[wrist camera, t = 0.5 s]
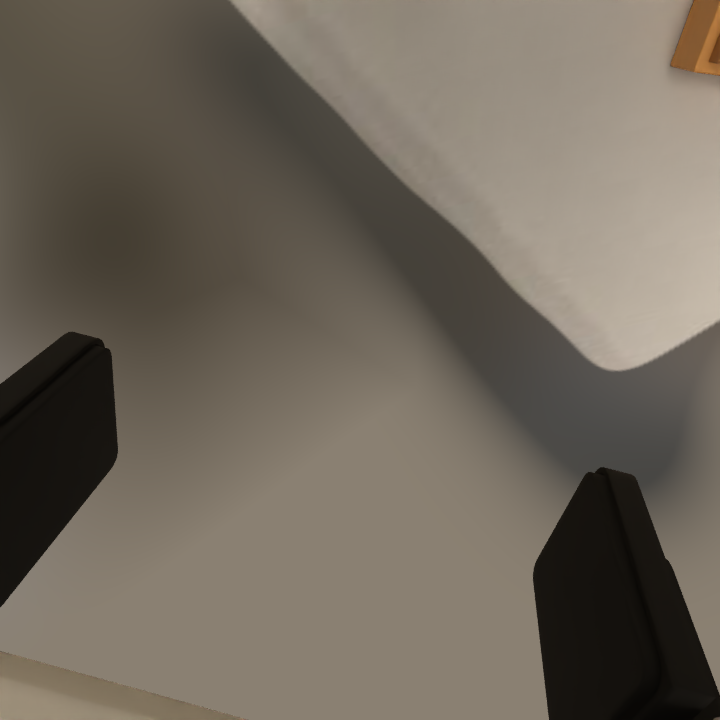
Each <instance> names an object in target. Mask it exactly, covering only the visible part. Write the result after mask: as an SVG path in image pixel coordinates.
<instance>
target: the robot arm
mask: <svg viewBox="0 0 720 720" xmlns="http://www.w3.org/2000/svg"><path fill="white" fill-rule="evenodd" d="M116 430H117V429H116V416H115V399H114V386H113V370H112V356H111V352H110V350H109V349H107V348H105V347H104V343H103V341H102V340H100V339H99V338H94V337H91V336H87V335H83V334H79V333H75V332H68V333H66V334H64V335H63V336H62V337H60V338H59V339H58V340H57V341H55V342H54V343H53V344H52V345H50V346H49V347H48V348H46V349H45V350H44V351H43V352H41V353H40V354H39V355H37V356H36V357H35V358H33V359H32V360H31V361H30V362H28V363H27V364H26V365H24V366H23V367H22V368H21V369H19V370H18V371H17V372H15V373H14V374H13V375H12V376H10V377H9V378H8V379H6V380H5V381H4V382H2V383H1V384H0V607H1V606H2V605H3V604H4V603H5V601H6V600H7V599H8V598H9V596H10V594H12V592H13V591H14V590H15V589H16V587H17V586H18V585H19V584H20V582H21V581H22V580H23V579H24V577H25V576H26V575H27V573H28V572H29V571H30V570H31V568H32V567H33V566H34V565H35V563H36V562H37V561H38V560H39V559H40V557H41V556H42V555H43V554H44V552H45V551H46V550H47V549H48V547H49V546H50V545H51V544H52V542H53V541H54V540H55V539H56V537H57V536H58V535H59V534H60V532H61V531H62V530H63V529H64V527H65V526H66V525H67V523H68V522H69V521H70V520H71V519H72V517H73V516H74V515H75V513H76V512H77V511H78V510H79V509H80V507H81V506H82V505H83V503H84V502H85V501H86V500H87V499H88V497H89V496H90V495H91V493H92V492H93V491H94V490H95V488H96V487H97V486H98V485H99V483H100V482H101V481H102V479H103V478H104V477H105V476H106V475H107V473H108V472H109V471H110V470H111V468H112V467H113V465H114V463H115V461H116V458H117V453H118V444H117V431H116ZM533 583H534V592H535V601H536V610H537V618H538V626H539V635H540V644H541V653H542V662H543V671H544V680H545V688H546V697H547V706H548V715H549V720H720V695H719V692H718V690H717V686H716V684H715V681H714V678H713V676H712V673H711V670H710V668H709V665H708V662H707V660H706V657H705V654H704V651H703V649H702V646H701V643H700V641H699V638H698V635H697V632H696V630H695V627H694V624H693V622H692V619H691V616H690V614H689V611H688V608H687V606H686V603H685V601H684V598H683V595H682V592H681V590H680V587H679V584H678V581H677V579H676V576H675V573H674V571H673V569H672V566H671V565H670V563H669V561H668V560H667V559H666V558H665V556H664V553H663V551H662V548H661V545H660V542H659V540H658V537H657V534H656V531H655V529H654V526H653V523H652V520H651V518H650V515H649V512H648V509H647V507H646V504H645V501H644V498H643V496H642V493H641V490H640V488H639V485H638V482H637V480H636V478H635V477H634V476H633V475H631V474H627V473H623V472H620V471H616V470H612V469H608V468H604V467H601V468H599V469H598V470H597V471H596V472H595V473H592V472H588V473H587V474H586V475H585V476H584V478H583V479H582V481H581V483H580V485H579V486H578V488H577V490H576V492H575V493H574V495H573V497H572V499H571V500H570V502H569V504H568V506H567V507H566V509H565V511H564V513H563V515H562V516H561V518H560V520H559V522H558V523H557V525H556V527H555V529H554V530H553V532H552V534H551V536H550V538H549V539H548V541H547V543H546V545H545V546H544V548H543V550H542V552H541V554H540V555H539V557H538V559H537V561H536V563H535V567H534V572H533ZM0 720H246V719H243V718H239V717H236V716H232V715H229V714H225V713H221V712H218V711H215V710H211V709H208V708H204V707H200V706H197V705H193V704H190V703H186V702H182V701H179V700H175V699H172V698H168V697H165V696H161V695H158V694H154V693H150V692H147V691H143V690H140V689H136V688H132V687H129V686H125V685H122V684H118V683H114V682H111V681H107V680H104V679H100V678H96V677H93V676H89V675H85V674H82V673H78V672H74V671H70V670H67V669H64V668H60V667H56V666H53V665H49V664H46V663H41V662H38V661H35V660H31V659H27V658H24V657H20V656H16V655H13V654H9V653H5V652H2V651H0Z"/></svg>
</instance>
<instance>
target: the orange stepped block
mask: <svg viewBox="0 0 720 720" xmlns="http://www.w3.org/2000/svg"><path fill="white" fill-rule="evenodd" d="M671 66H672V67H676V68H680V69H684V70H688V71H692V72H697V73H704V74H712V75H719V76H720V0H694V2H693V4H692V7H691V10H690V13H689V15H688V18H687V21H686V24H685V26H684V29H683V32H682V35H681V37H680V40H679V43H678V46H677V48H676V51H675V54H674V57H673V59H672V62H671Z"/></svg>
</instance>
